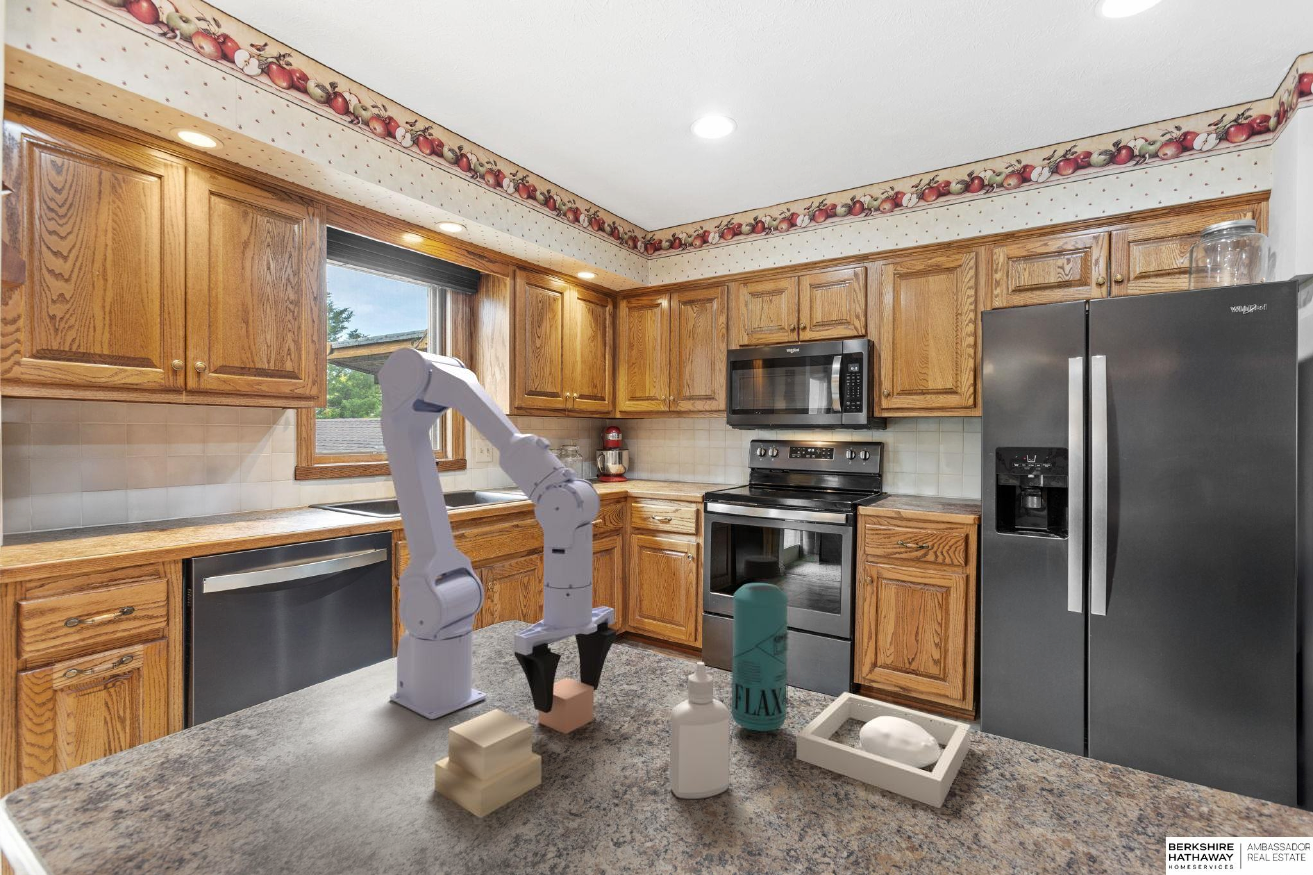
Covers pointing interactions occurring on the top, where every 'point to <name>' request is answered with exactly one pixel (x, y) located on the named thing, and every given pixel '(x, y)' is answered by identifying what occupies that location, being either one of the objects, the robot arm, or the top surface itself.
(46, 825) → the top surface
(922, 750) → the white rounded lump
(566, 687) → the terracotta block
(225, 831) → the top surface
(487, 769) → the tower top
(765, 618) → the beverage bottle
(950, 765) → the garlic dish
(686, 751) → the eye dropper bottle
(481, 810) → the tower base
